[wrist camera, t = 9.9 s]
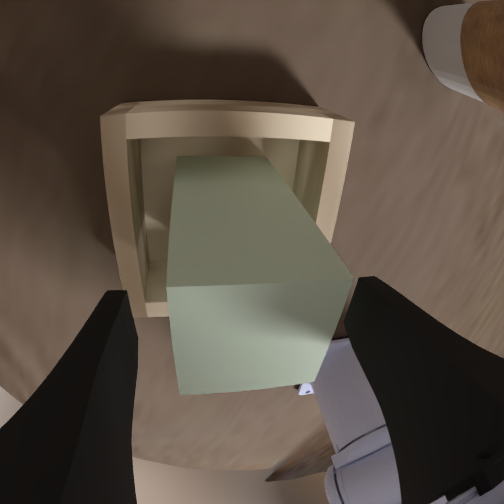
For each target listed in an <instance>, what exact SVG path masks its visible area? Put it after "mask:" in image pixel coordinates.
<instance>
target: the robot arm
mask: <svg viewBox="0 0 504 504" xmlns="http://www.w3.org/2000/svg"><path fill="white" fill-rule="evenodd" d="M344 325H345V328H346V331H347V334H348V338H345V339H338V340H332V341H331V342H330V345H329V347H328V350H327V352H326V355H325V357H324V360H323V362H322V365H321V367H320V369H319V372H318V374H317V376H316V379H315V381H314V382H309V383H302V384H300V386H299V389H298V394H299V395H306V394H311V393H314V395H315V397H316V400H317V403H318V406H319V408H320V411H321V414H322V416H323V419H324V422H325V425H326V428H327V430H328V433H329V436H330V439H331V441H332V444H333V447H334V450H335V452H336V454H335V455H333V456H331V458H332V461H333V464H334V465H331V466H330V467H329V468H328V470H327V473H326V476H325V480H324V482H325V490H326V495H327V498H328V501H329V503H330V504H504V358H501V357H499V356H497V355H495V354H493V353H491V352H489V351H487V350H485V349H483V348H481V347H479V346H477V345H475V344H474V343H472V342H470V341H469V340H467V339H465V338H463V337H462V336H460V335H459V334H457V333H455V332H454V331H452V330H451V329H449V328H448V327H446V326H445V325H443V324H442V323H440V322H439V321H437V320H436V319H435V318H433V317H432V316H430V315H429V314H428V313H426V312H425V311H423V310H422V309H421V308H419V307H418V306H417V305H415V304H414V303H412V302H411V301H410V300H408V299H407V298H406V297H404V296H403V295H402V294H400V293H399V292H397V291H396V290H395V289H393V288H392V287H390V286H389V285H388V284H386V283H385V282H383V281H382V280H380V279H378V278H377V277H375V276H370V277H359V279H358V282H357V285H356V288H355V291H354V294H353V297H352V300H351V303H350V306H349V308H348V311H347V314H346V317H345V320H344ZM137 370H138V336H137V332H136V328H135V324H134V319H133V315H132V311H131V306H130V302H129V297H128V292H127V290H109V291H107V292H106V293H105V294H104V295H103V297H102V298H101V300H100V301H99V303H98V304H97V306H96V308H95V309H94V311H93V312H92V314H91V315H90V317H89V318H88V320H87V321H86V323H85V324H84V326H83V327H82V329H81V330H80V332H79V333H78V335H77V336H76V338H75V339H74V341H73V342H72V343H71V345H70V346H69V348H68V349H67V351H66V352H65V353H64V355H63V356H62V357H61V359H60V360H59V361H58V363H57V364H56V366H55V367H54V368H53V370H52V371H51V372H50V374H49V375H48V376H47V377H46V379H45V380H44V381H43V382H42V384H41V385H40V386H39V387H38V389H37V390H36V391H35V392H34V393H33V395H32V396H31V397H30V398H29V399H28V400H27V401H26V402H25V403H24V405H23V406H22V407H21V408H20V409H19V410H18V411H17V412H16V413H15V414H14V415H13V417H12V418H11V419H10V420H9V421H8V422H7V423H6V424H4V425H3V426H2V427H1V428H0V504H137V501H136V494H135V484H134V475H133V462H132V445H131V438H132V420H133V408H134V398H135V388H136V379H137Z"/></svg>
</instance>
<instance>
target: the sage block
mask: <svg viewBox="0 0 504 504" xmlns="http://www.w3.org/2000/svg"><path fill="white" fill-rule="evenodd" d="M353 280H354V278H353V276H352V275H351V273H350V272H349V270H348V269H347V267H346V266H345V264H344V263H343V262H342V260H341V259H340V257H339V256H338V254H337V253H336V251H335V250H334V249H333V247H332V246H331V244H330V243H329V241H328V240H327V239H326V237H325V236H324V234H323V233H322V232H321V230H320V229H319V227H318V226H317V225H316V223H315V222H314V220H313V219H312V218H311V216H310V215H309V214H308V212H307V211H306V209H305V208H304V207H303V205H302V204H301V203H300V201H299V200H298V199H297V197H296V196H295V195H294V193H293V192H292V191H291V189H290V188H289V187H288V185H287V184H286V183H285V181H284V180H283V179H282V177H281V176H280V175H279V173H278V172H277V171H276V170H275V168H274V167H273V166H272V164H271V163H270V162H269V161H268V159H267V158H266V157H244V156H177V159H176V168H175V177H174V186H173V196H172V207H171V219H170V232H169V246H168V262H167V283H166V289H167V300H168V309H169V319H170V327H171V336H172V344H173V352H174V359H175V366H176V373H177V380H178V386H179V392H180V395H189V394H209V393H224V392H236V391H247V390H256V389H265V388H273V387H281V386H289V385H296V384H302V383H309V382H314V381H315V379H316V376H317V374H318V372H319V369H320V367H321V365H322V362H323V360H324V357H325V355H326V352H327V350H328V347H329V345H330V342H331V340H332V337H333V335H334V332H335V330H336V327H337V324H338V322H339V319H340V316H341V314H342V311H343V308H344V305H345V303H346V300H347V297H348V294H349V291H350V288H351V286H352V283H353Z"/></svg>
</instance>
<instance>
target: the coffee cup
mask: <svg viewBox="0 0 504 504" xmlns="http://www.w3.org/2000/svg"><path fill="white" fill-rule="evenodd" d="M422 44H423V51H424V55H425V58H426V61H427V63H428V65H429V68H430V69H431V71H432V73H433V74H434V75H435V77H436V78H437V79H438V80H439V81H440V82H441V83H442V84H443V85H445V86H447V87H449V88H450V89H453V90H455V91H458V92H460V93H463V94H465V95H468V96H470V97H473V98H475V99H477V100H480V101H482V102H484V103H486V104H488V105H489V106H491V107H493V108H495V109H497V110H499V111H501V112H503V113H504V0H493V1H481V2H477V3H466V4H456V5H447V6H441V7H438V8H436V9H434V10H433V11H432V12H431V13H430V14H429V15H428V17H427V18H426V20H425V23H424V26H423V32H422Z"/></svg>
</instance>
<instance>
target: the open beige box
mask: <svg viewBox="0 0 504 504" xmlns="http://www.w3.org/2000/svg"><path fill="white" fill-rule="evenodd" d="M354 124H355V122H354V121H352V120H349V119H347V118H345V117H342V116H340V115H338V114H335V113H333V112H330V111H328V110H326V109H323V108H321V107H315V106H307V105H297V104H287V103H275V102H261V101H242V100H162V101H143V102H129V103H121V104H119V105H117V106H116V107H114V108H112V109H111V110H109V111H108V112H106V113H104V114H103V115H101V116H100V126H101V143H102V156H103V167H104V177H105V186H106V195H107V203H108V210H109V217H110V224H111V230H112V237H113V243H114V248H115V254H116V259H117V265H118V270H119V275H120V280H121V284H122V289H123V290H127V292H128V297H129V302H130V306H131V311H132V315H133V317H167V316H169V309H168V300H167V289H166V283H167V262H168V246H169V232H170V219H171V207H172V196H173V186H174V177H175V168H176V159H177V156H244V157H266V158H267V159H268V161H269V162H270V163H271V164H272V166H273V167H274V168H275V170H276V171H277V172H278V173H279V175H280V176H281V177H282V179H283V180H284V181H285V183H286V184H287V185H288V187H289V188H290V189H291V191H292V192H293V193H294V195H295V196H296V197H297V199H298V200H299V201H300V203H301V204H302V205H303V207H304V208H305V209H306V211H307V212H308V214H309V215H310V216H311V218H312V219H313V220H314V222H315V223H316V225H317V226H318V227H319V229H320V230H321V232H322V233H323V234H324V236H325V237H326V239H327V240H328V241H329V243H330V244H331V240H332V236H333V231H334V227H335V223H336V218H337V213H338V209H339V204H340V199H341V195H342V190H343V185H344V180H345V175H346V169H347V164H348V159H349V153H350V148H351V142H352V136H353V130H354Z"/></svg>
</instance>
